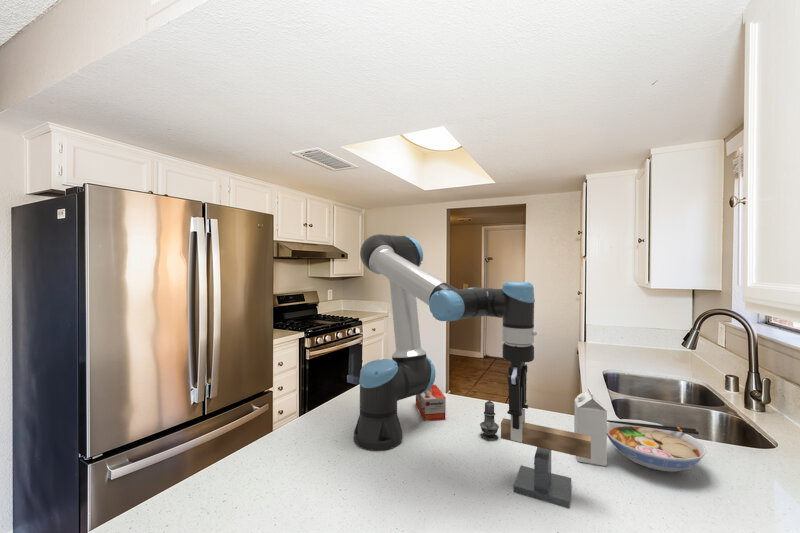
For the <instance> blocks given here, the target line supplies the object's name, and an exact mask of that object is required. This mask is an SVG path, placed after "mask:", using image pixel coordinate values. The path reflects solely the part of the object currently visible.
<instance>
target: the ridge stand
mask: <svg viewBox="0 0 800 533" xmlns="http://www.w3.org/2000/svg"><path fill="white" fill-rule="evenodd" d="M535 450H536V451H535V454H534V457H533V458H534V462H533V463H534V467H530V466H526V465H521V464H520V466H519V469H518V472H517V475H516V477H515V481H514V483H513V493H516V494H519V495H523V496H525V497H529V498H532V499H536V500H540V501H542V502H543V501H544V502H547V503H550V504H554V505H557V506H560V507H564V508H567V509H570V505H571V492H572V478H571V477H569V476H564V475H560V474H557V473H552V450H549V449H544V448H540V447H537V448H536V449H535Z"/></svg>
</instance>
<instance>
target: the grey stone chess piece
mask: <svg viewBox="0 0 800 533" xmlns="http://www.w3.org/2000/svg"><path fill="white" fill-rule="evenodd" d="M483 414H484V419H483V421H482V422H480V423H479V426H480V429H481V432H482V433H481V434H480V437H481V439H482V440H486V441H490V442H494V441H497V440H498V439H499V436H498V435H497V433H498V432H499V428H500V426H499V424H498V423H496V421H495V416H496V413H495V404H494V402H493V401H492V400H491V398H489V399H488V400H487V401H485V403H484V411H483Z"/></svg>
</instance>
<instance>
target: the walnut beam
mask: <svg viewBox="0 0 800 533" xmlns="http://www.w3.org/2000/svg"><path fill="white" fill-rule="evenodd" d="M500 439H501V440H506V441H511V442H514V443H519V444H522V445H529V446H531V447H535V448H536V447H540V448H544V449H549V450H551V451H554V452H558V453H562V454H567V455H571V456H575V457H576V456H579V457H583V458H588V459H591V436H589V435H584V434H579V433H574V432H572V431H567V430H564V429H558V428H553V427H550V426H549V427H548V426H543V425H540V424H533V423H529V422H526V421H525V422H523V441H522V442H518V441H513V440H511V418H510V419H509V418H506V417H503V418H502V420H501V422H500Z"/></svg>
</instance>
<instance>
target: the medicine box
mask: <svg viewBox="0 0 800 533" xmlns="http://www.w3.org/2000/svg"><path fill="white" fill-rule="evenodd" d="M446 400H447V397H446V396H445V395H444V393H443V392H442V391H441V389H440V388H439V387H438V386H437V385H436V384H433V385H432V387H431V388H430V389H429V390H428V391H426V392H423V393H422V394H419V395H415V406H417V407H416V409H417V408H418V409H417V410H419V411H418V412H420V413H419V414H421V415H420V416H421V418H422V420H423V422H431V421H444V420H445V421H446V409H447V408H446V406H447V404H446V402H447V401H446Z"/></svg>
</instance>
